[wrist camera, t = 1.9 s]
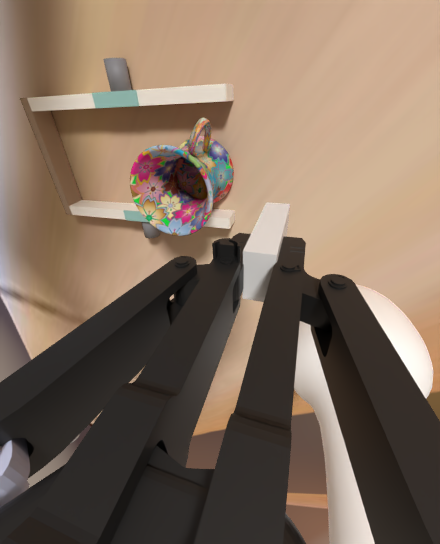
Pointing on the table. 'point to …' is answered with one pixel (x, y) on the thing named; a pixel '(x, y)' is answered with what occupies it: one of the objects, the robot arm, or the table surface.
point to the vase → (313, 389)
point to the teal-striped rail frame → (118, 97)
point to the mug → (181, 182)
